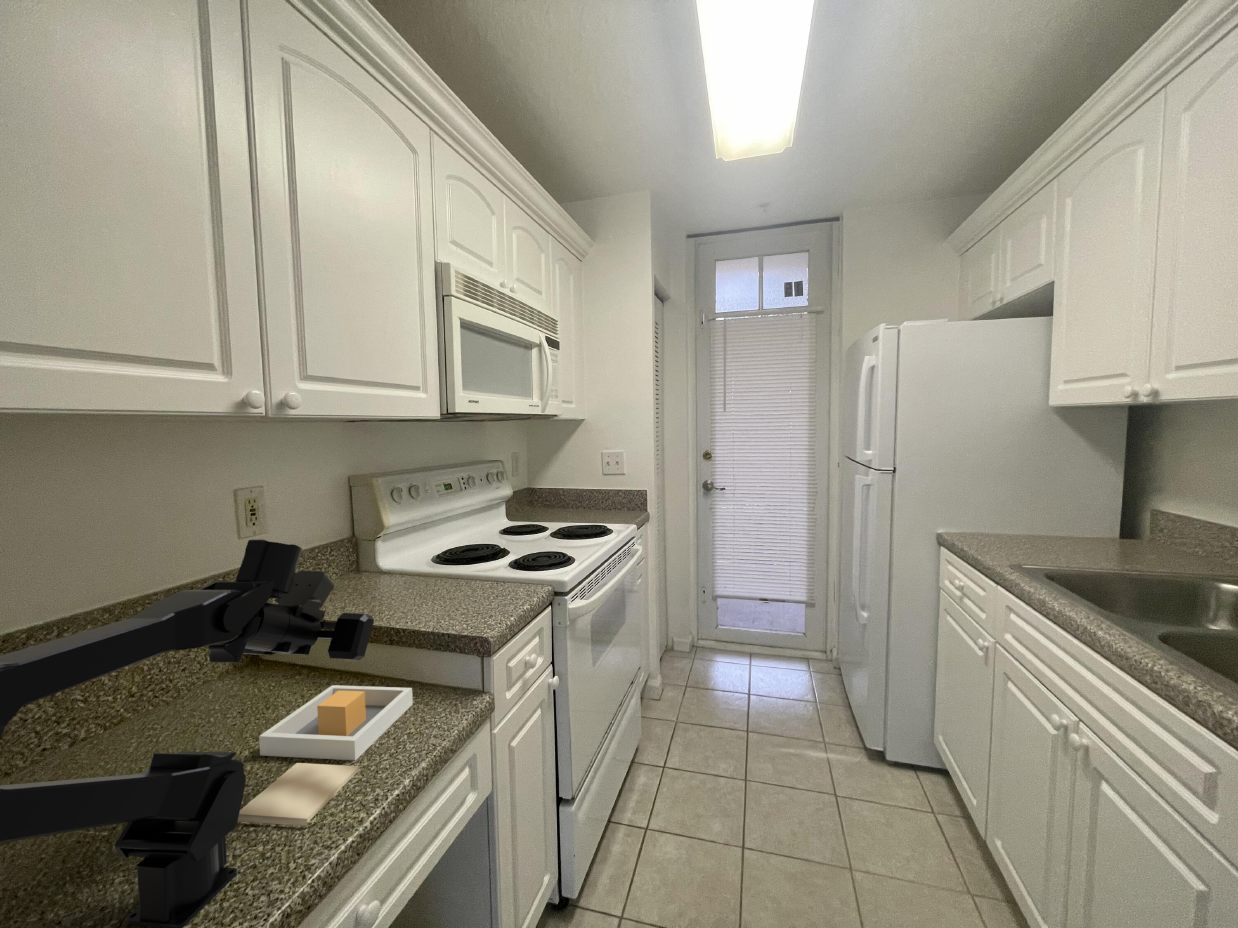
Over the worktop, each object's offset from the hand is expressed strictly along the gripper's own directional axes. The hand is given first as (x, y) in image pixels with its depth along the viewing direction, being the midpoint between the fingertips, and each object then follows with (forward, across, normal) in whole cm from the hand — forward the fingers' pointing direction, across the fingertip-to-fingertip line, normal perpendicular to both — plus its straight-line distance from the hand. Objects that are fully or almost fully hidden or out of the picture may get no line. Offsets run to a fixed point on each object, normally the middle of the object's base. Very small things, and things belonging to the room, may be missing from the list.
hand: (339, 640), depth 77 cm
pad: (-2, -3, +20) cm, 21 cm away
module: (+11, +2, +13) cm, 17 cm away
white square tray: (+11, +2, +13) cm, 18 cm away
